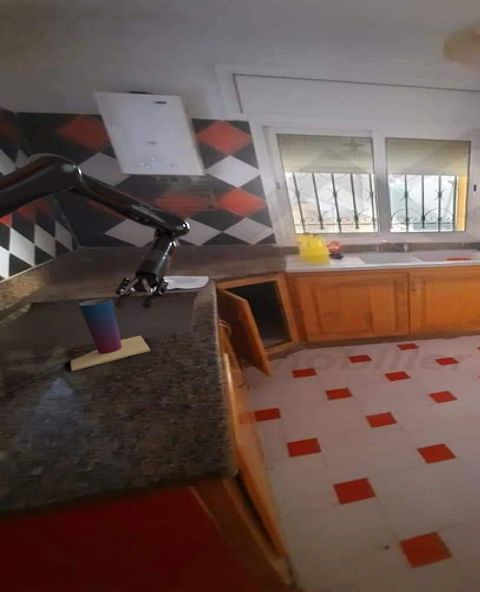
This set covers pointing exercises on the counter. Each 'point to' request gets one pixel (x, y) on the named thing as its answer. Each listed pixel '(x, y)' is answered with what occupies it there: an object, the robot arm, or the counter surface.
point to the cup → (102, 324)
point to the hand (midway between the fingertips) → (132, 307)
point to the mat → (95, 358)
